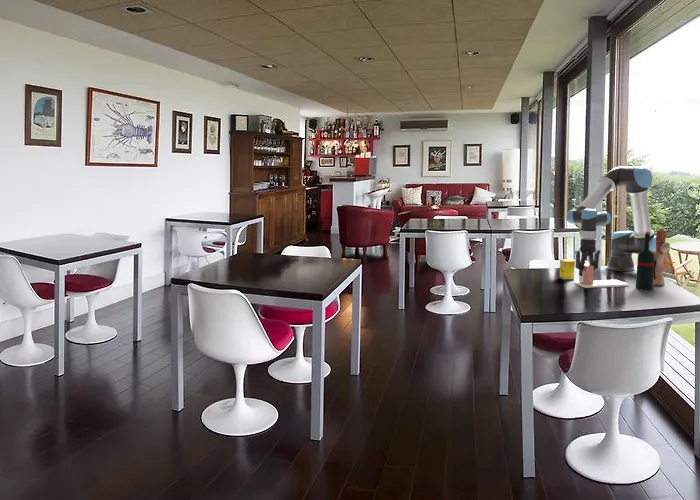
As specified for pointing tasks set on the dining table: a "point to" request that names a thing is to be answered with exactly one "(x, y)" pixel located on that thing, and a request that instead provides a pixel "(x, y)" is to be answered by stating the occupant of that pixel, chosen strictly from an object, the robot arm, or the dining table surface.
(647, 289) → the wine bottle
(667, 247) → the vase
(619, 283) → the white flat slab
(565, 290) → the dining table surface
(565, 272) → the supplement box
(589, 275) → the pink rectangular block
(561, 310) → the dining table surface
